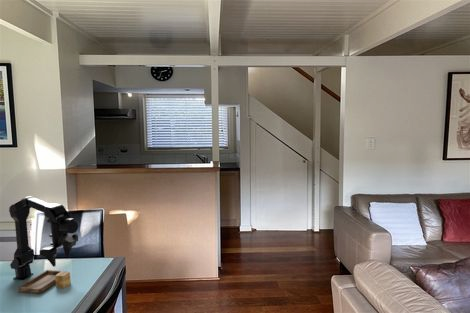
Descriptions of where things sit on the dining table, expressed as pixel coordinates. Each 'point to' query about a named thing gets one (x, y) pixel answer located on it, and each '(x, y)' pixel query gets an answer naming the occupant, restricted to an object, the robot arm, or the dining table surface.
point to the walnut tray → (40, 283)
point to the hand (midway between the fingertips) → (61, 262)
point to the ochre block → (62, 279)
